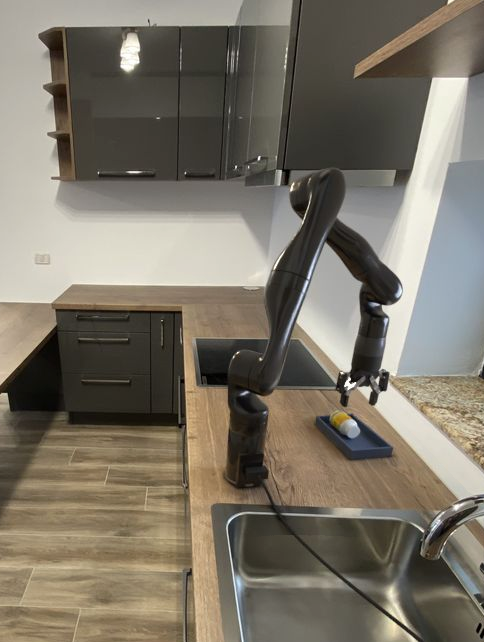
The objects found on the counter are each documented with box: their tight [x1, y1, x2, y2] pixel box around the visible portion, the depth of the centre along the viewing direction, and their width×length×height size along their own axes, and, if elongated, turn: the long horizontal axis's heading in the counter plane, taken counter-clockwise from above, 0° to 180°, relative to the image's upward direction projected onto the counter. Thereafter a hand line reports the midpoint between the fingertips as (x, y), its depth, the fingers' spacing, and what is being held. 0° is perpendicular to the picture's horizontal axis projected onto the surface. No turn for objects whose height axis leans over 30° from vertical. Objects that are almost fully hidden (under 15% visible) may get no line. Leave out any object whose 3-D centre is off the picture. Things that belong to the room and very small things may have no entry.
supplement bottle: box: [330, 410, 360, 438], centre depth 133 cm, size 5×5×10 cm
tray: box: [314, 413, 394, 461], centre depth 131 cm, size 21×12×3 cm, turn 9°
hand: (357, 405), depth 127 cm, fingers open, 8 cm apart
